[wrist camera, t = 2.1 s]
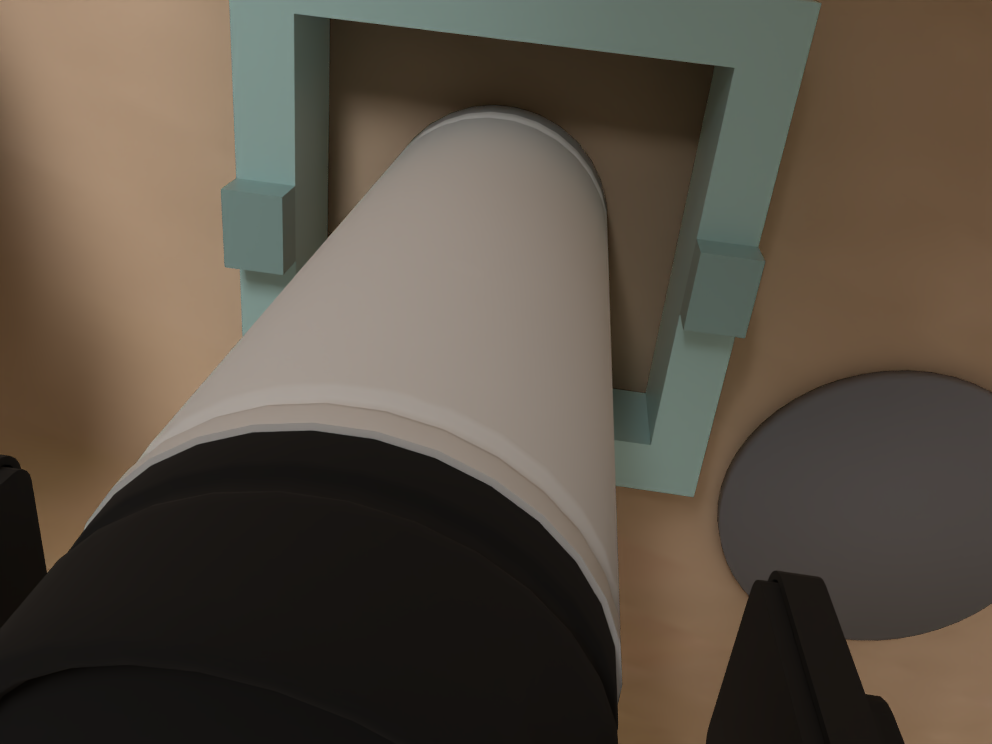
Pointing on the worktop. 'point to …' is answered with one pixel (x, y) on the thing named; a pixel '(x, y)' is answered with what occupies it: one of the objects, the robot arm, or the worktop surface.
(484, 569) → the travel mug
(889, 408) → the pad
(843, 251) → the worktop surface
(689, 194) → the dock collar
